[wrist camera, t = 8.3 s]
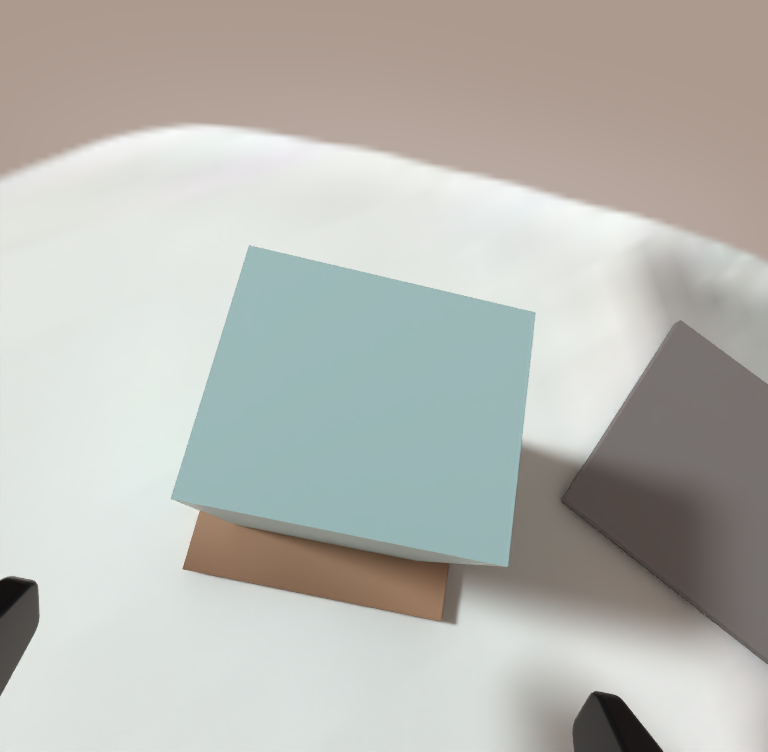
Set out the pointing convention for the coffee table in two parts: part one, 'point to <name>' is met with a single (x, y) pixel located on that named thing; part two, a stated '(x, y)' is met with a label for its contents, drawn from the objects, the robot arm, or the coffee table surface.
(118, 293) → the coffee table surface
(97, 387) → the coffee table surface
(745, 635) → the mat
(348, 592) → the coaster
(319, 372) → the pale teal block
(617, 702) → the robot arm
